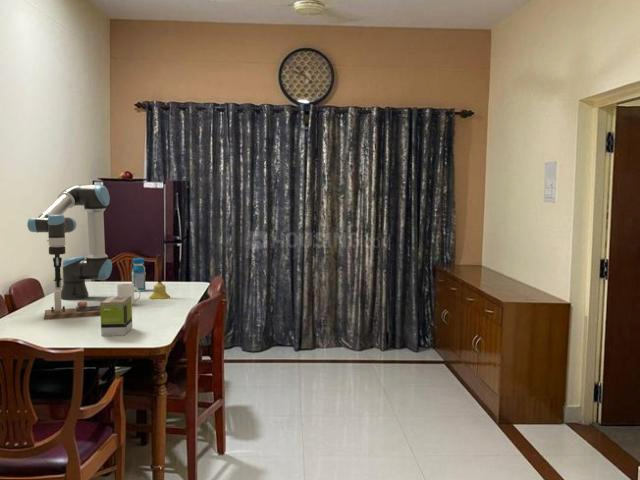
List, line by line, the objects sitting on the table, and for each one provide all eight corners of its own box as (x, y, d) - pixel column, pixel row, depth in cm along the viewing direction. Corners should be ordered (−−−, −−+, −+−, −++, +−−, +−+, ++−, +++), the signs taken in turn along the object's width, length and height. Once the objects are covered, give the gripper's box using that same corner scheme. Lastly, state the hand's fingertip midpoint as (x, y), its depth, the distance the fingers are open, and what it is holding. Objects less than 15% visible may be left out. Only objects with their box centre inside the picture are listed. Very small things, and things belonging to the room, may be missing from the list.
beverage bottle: (138, 292, 365) (137, 259, 364) (128, 290, 369) (128, 258, 368) (148, 290, 372) (148, 258, 371) (139, 289, 377) (139, 257, 375)
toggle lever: (54, 310, 291) (54, 291, 286) (54, 309, 292) (54, 290, 287) (61, 310, 292) (60, 291, 288) (61, 308, 293) (60, 289, 289)
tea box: (109, 328, 266) (109, 295, 265) (133, 328, 267) (132, 295, 266) (100, 336, 251) (99, 301, 250) (124, 336, 252) (124, 301, 251)
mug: (138, 305, 321) (138, 286, 320) (115, 305, 320) (115, 286, 319) (142, 302, 329) (141, 283, 328) (119, 303, 328) (119, 283, 327)
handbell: (173, 296, 352) (173, 254, 350) (166, 299, 339) (165, 256, 338) (153, 295, 353) (153, 253, 351) (145, 299, 341) (144, 255, 339)
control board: (44, 319, 284) (44, 310, 283) (45, 313, 297) (45, 305, 296) (123, 314, 298) (123, 305, 297) (121, 309, 311) (121, 300, 310)
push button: (77, 306, 294) (77, 303, 293) (77, 305, 298) (77, 301, 298) (87, 306, 295) (87, 302, 295) (86, 304, 299) (86, 301, 299)
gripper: (48, 245, 298) (50, 291, 300) (48, 247, 286) (49, 296, 288) (65, 244, 301) (66, 291, 303) (65, 247, 289) (66, 295, 291)
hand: (58, 293), depth 295 cm, fingers closed
